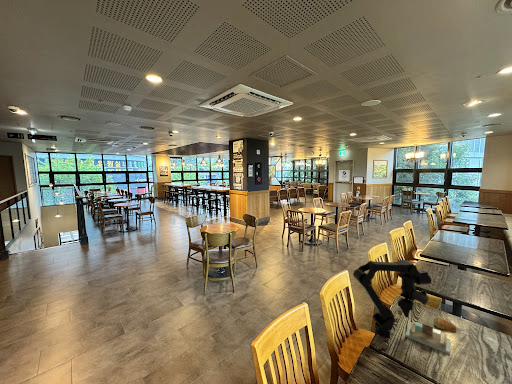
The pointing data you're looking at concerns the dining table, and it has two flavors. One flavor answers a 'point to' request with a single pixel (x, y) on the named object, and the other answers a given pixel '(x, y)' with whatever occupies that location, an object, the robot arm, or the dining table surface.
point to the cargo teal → (418, 327)
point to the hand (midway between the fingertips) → (408, 312)
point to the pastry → (444, 324)
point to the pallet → (427, 338)
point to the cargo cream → (436, 334)
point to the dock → (429, 342)
